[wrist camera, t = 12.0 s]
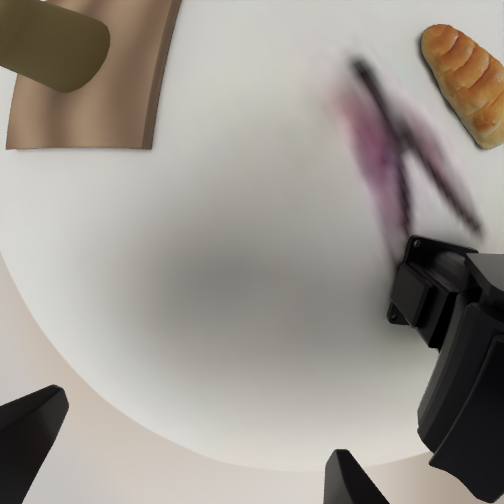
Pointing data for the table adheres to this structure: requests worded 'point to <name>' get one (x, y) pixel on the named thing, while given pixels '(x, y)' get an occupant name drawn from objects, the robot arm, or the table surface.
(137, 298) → the table surface
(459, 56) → the pastry
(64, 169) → the table surface
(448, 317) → the robot arm
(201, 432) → the table surface
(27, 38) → the olive rounded upright piece
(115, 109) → the walnut board
